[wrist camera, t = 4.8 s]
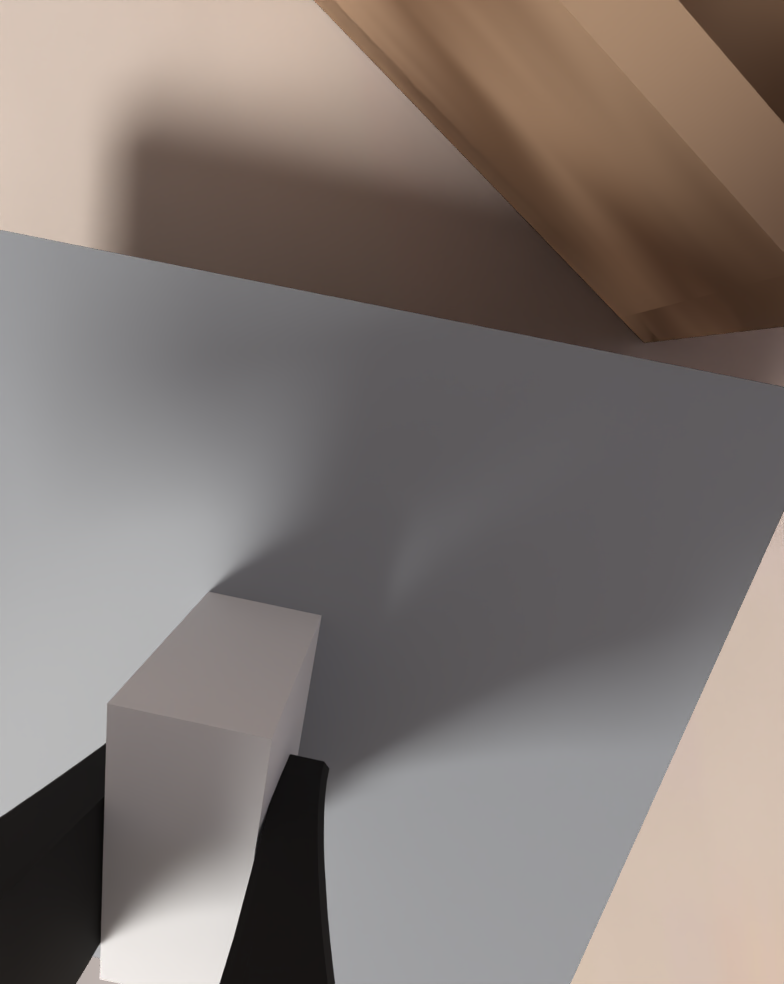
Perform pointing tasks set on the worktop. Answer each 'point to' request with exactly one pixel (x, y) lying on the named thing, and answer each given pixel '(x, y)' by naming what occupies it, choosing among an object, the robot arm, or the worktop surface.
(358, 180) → the worktop surface
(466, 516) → the lid
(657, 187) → the storage box
